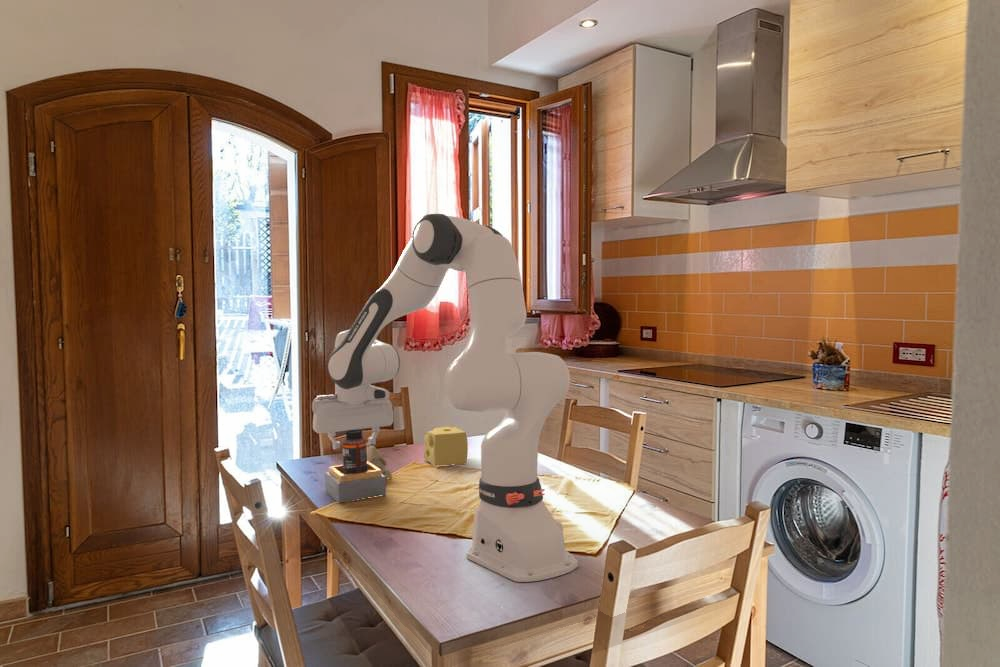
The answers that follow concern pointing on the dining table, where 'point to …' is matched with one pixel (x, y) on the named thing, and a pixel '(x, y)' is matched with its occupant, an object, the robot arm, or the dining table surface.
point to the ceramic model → (377, 459)
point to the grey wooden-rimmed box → (355, 483)
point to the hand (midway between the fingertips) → (354, 446)
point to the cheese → (446, 446)
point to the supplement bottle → (354, 452)
